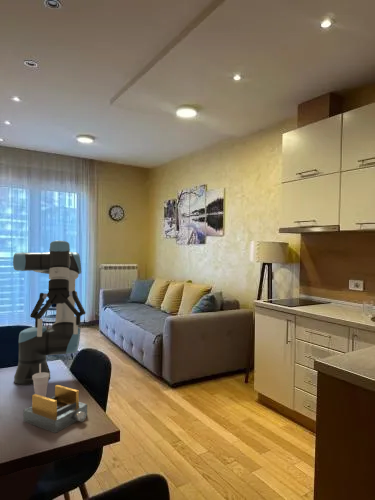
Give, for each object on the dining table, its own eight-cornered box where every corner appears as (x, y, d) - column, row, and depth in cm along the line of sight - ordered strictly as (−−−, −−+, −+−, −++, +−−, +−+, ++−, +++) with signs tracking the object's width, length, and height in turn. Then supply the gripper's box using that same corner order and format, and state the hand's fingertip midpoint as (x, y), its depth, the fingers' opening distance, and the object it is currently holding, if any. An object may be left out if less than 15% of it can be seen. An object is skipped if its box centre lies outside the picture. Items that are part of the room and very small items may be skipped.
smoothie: (44, 394, 144) (44, 360, 144) (52, 398, 140) (52, 363, 140) (28, 399, 140) (29, 364, 140) (36, 404, 135) (37, 367, 135)
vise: (23, 421, 122) (23, 395, 122) (56, 405, 134) (56, 382, 134) (61, 435, 113) (62, 407, 113) (93, 417, 125) (93, 392, 125)
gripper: (22, 280, 134) (19, 337, 129) (88, 276, 134) (87, 333, 129) (31, 283, 142) (28, 337, 136) (93, 279, 142) (93, 333, 136)
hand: (57, 335), depth 133 cm, fingers open, 13 cm apart
